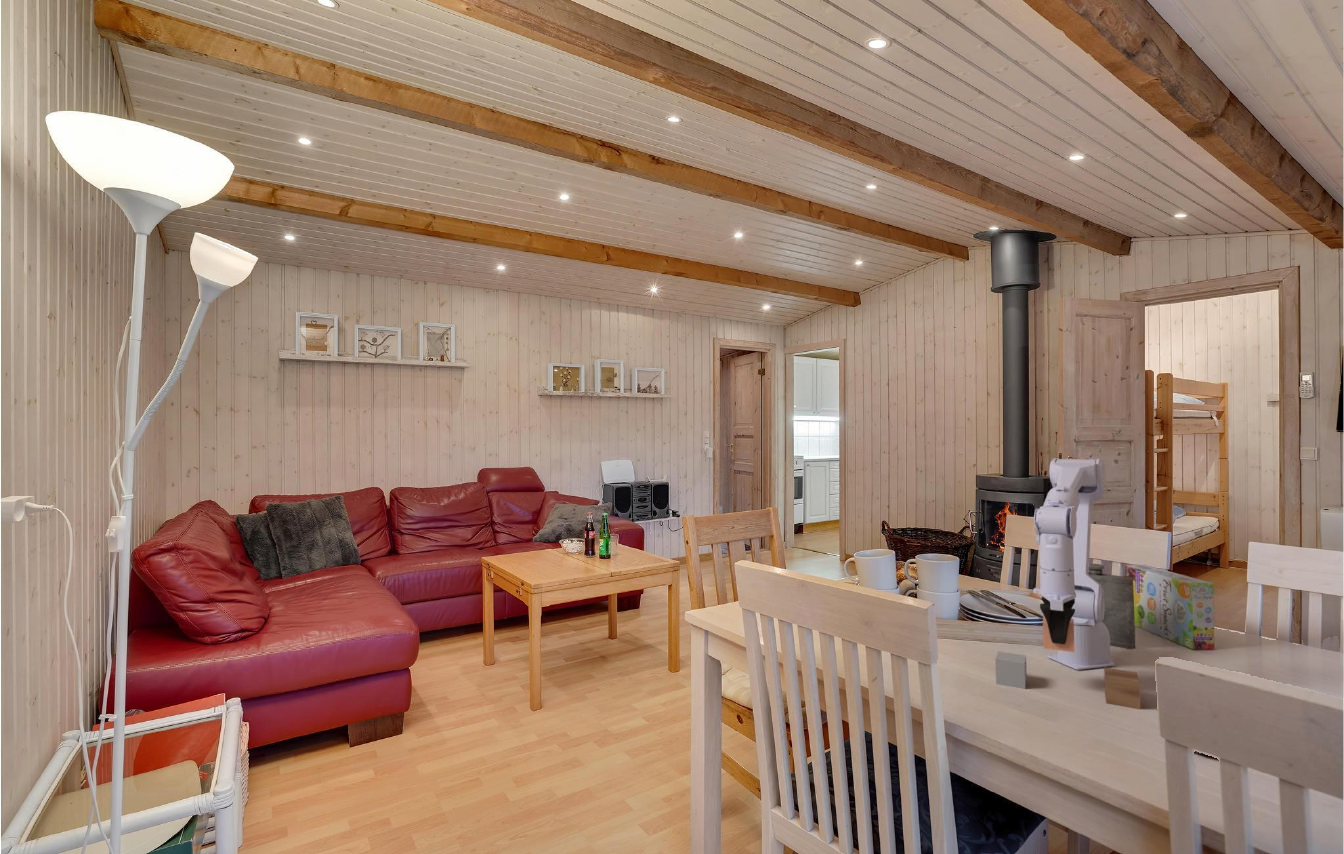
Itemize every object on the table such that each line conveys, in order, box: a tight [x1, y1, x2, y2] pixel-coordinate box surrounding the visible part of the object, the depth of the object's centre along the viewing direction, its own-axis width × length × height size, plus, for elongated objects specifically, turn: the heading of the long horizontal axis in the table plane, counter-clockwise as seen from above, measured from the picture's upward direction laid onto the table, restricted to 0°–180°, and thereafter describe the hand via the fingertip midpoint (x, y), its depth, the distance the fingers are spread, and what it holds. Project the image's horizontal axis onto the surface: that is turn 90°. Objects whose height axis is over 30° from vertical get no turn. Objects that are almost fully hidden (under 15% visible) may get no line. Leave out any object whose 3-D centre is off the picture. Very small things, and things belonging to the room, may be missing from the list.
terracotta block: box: [1042, 615, 1075, 653], centre depth 120 cm, size 5×5×5 cm
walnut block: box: [1103, 667, 1141, 710], centre depth 113 cm, size 5×5×5 cm
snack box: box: [1124, 564, 1215, 651], centre depth 149 cm, size 21×6×15 cm, turn 179°
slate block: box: [995, 651, 1028, 690], centre depth 123 cm, size 5×5×5 cm
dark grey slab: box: [1075, 563, 1136, 650], centre depth 146 cm, size 4×14×18 cm, turn 36°
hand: (1058, 638), depth 120 cm, fingers closed on terracotta block, 5 cm apart
